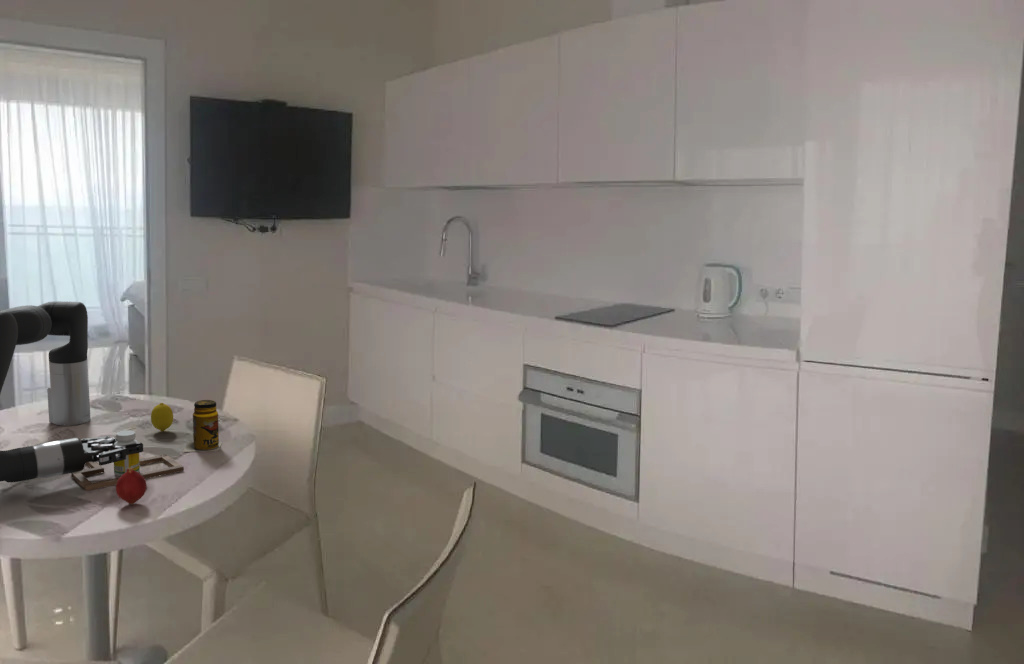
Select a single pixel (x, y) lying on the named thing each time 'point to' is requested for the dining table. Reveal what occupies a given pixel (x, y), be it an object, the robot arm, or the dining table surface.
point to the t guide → (98, 469)
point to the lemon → (162, 417)
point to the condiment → (204, 428)
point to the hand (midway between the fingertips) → (137, 443)
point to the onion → (131, 486)
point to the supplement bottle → (131, 459)
